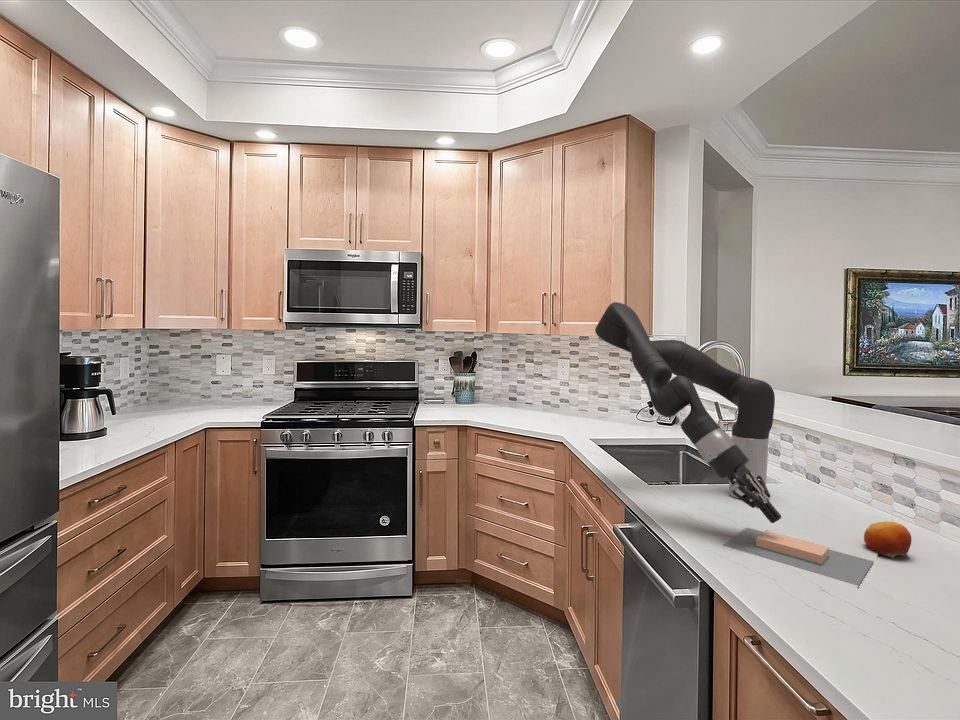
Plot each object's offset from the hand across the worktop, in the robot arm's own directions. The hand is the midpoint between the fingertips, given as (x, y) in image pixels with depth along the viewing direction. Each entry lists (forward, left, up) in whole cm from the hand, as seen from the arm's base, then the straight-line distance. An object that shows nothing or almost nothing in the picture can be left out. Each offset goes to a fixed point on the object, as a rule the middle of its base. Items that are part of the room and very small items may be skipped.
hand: (777, 520), depth 113 cm
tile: (0, -3, -5) cm, 6 cm away
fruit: (-17, +17, -7) cm, 24 cm away
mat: (0, +4, -6) cm, 7 cm away
